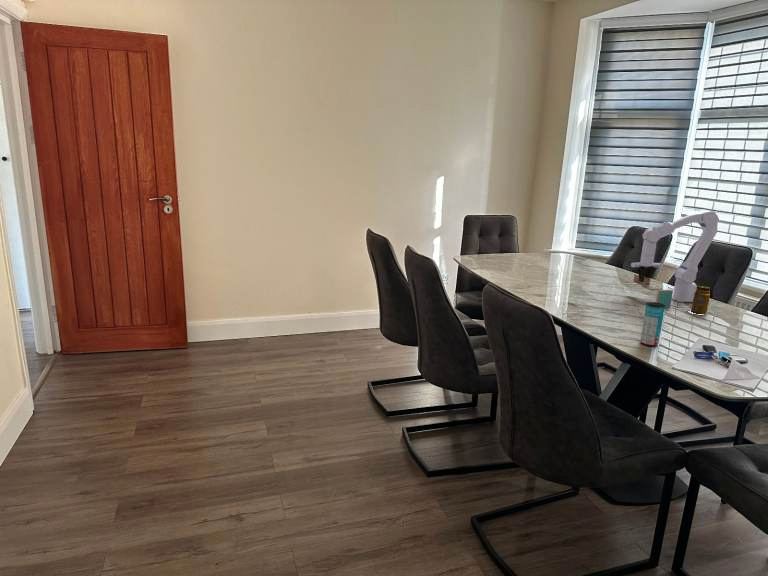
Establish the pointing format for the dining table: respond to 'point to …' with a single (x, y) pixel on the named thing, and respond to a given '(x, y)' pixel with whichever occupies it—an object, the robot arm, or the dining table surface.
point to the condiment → (700, 300)
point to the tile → (664, 297)
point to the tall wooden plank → (645, 283)
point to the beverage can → (652, 324)
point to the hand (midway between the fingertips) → (643, 281)
